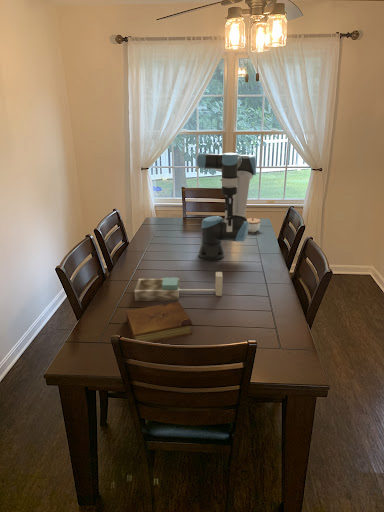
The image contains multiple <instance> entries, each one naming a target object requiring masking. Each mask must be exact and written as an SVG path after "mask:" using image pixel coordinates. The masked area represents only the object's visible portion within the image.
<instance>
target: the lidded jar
mask: <svg viewBox="0 0 384 512" xmlns="http://www.w3.org/2000/svg"><path fill="white" fill-rule="evenodd" d="M247 222H249V230H248V233H255V232H257V231H259V228H260V227H261V219H260V218H255V217H250V218H247Z"/></svg>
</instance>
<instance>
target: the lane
mask: <svg viewBox="0 0 384 512" xmlns="http://www.w3.org/2000/svg"><path fill="white" fill-rule="evenodd" d="M162 283H163V278H137V282H136V286H135V288H134V301H136V302H137V301H139V302H141V301H142V302H143V301H146V302H151V301H152V302H154V301H155V302H156V301H157V302H158V301H159V302H160V301H161V302H164V301H166V302H167V301H168V302H170V301H171V302H172V301H173V302H179V298H180V297H179V296H180V291H178V290H162ZM180 284H181V283H180V278H178V289H181V288H180Z"/></svg>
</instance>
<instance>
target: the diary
mask: <svg viewBox="0 0 384 512" xmlns="http://www.w3.org/2000/svg"><path fill="white" fill-rule="evenodd" d="M125 314H126V315H125V316H126V322H127V325H128V328H129V331H130V334H131V338H132V340H133V339H135V340H140V341H148V342H151V343H154V341H156V342H160V341H164V340H171V339H176V338H180V337H186V336H189V334H190V335H192V334H193V331H192V330H191V326H193V322H192V321H191V319H190V318H189V315H188V314H187V312H186V310H185V309H184V308H183V306H182V304H181V303H180V301H173V302H169V303H163V304H157V305H152V306H145V307H142V308H141V307H139V308H136V309H130V310H125Z"/></svg>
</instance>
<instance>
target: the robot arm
mask: <svg viewBox="0 0 384 512" xmlns="http://www.w3.org/2000/svg"><path fill="white" fill-rule="evenodd" d="M256 161H257V160H256V156H255V155H254V154H242V153H241V154H239V153H235V152H224V153H205V152H203V153H202V152H201V153H198V154H197V157H196V165H197V168H199V169H203V170H215V171H216V172H219V173H221V179H220V182H221V195H223V196H225V197H224V219H223V217H222V216H219V215H213V216H207V217H205V218H203V219H202V221H201V227H200V228H201V244H200V248H199V249H198V257H199V258H200V259H203V260H206V261H217V260H222V258H224V257H225V249H224V247H223V244H222V241H228V242H236V243H237V242H240V243H242V242H245V241H246V240H247V237H248V233H249V231H248V230H249V222H247V219H248V218H247V217H246V212H247V211H246V210H247V204H248V197H249V196H248V195H249V189H250V183H251V180H252V179H253V177H254V176H256V175H257V163H256Z"/></svg>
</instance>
